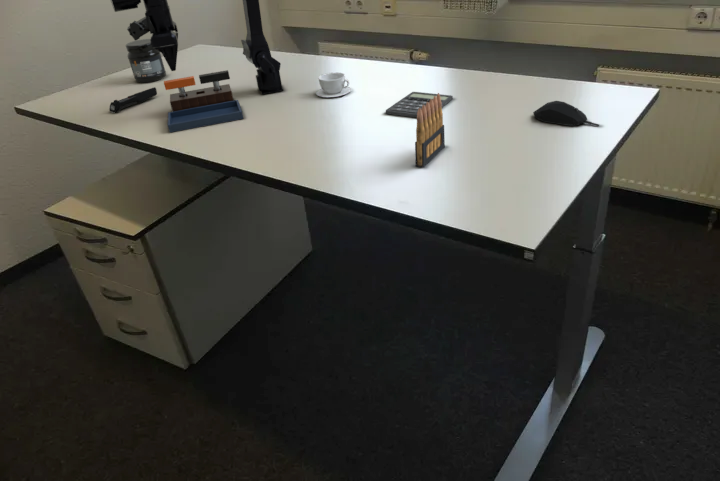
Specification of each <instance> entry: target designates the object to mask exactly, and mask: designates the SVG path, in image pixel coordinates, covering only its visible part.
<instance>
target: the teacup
mask: <svg viewBox="0 0 720 481" xmlns="http://www.w3.org/2000/svg"><path fill="white" fill-rule="evenodd" d="M318 82H319V87H320V88H319V89H318V90H316V92H315V95H317V96H319V97H320V98H321V97H322V98H335V97H341V96H345V95H347V94H348V93H351V91H352V88H351V87H350V80H348V79H347V78H346V75H345V73H343V72H327V73H324V74H321V75H319V76H318ZM345 82H346V83H345ZM345 84H346V85H345Z"/></svg>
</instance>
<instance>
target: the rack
mask: <svg viewBox="0 0 720 481" xmlns="http://www.w3.org/2000/svg"><path fill="white" fill-rule="evenodd" d="M219 86H220V90H219V91H215V90H214V86H210V87H209V86H208V87H203V88H199V89H192V90H185V92H186V96H185V97H180V93H179V92H176V93H170V94H169V103H170V107H171V110H172V111H171V112H173V111H179V110H184V109H190V108H195V107H201V106H206V105H212V104H217V103H223V102H228V101H234V96H233V92H232V88H231V85H230V83H226V84H221V85H219Z"/></svg>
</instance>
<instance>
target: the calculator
mask: <svg viewBox="0 0 720 481" xmlns="http://www.w3.org/2000/svg"><path fill="white" fill-rule="evenodd" d="M437 94H438V93H431V92H429V93H428V92H421V91H412V92H410V93H409V94H407V95H405V96H404V97H402V98H401V99H400V100H398V101H397V102H395V103H394V104H392V105H391V106H390V107H388V108H387V109H385V114H386V115H393V116H394V115H395V116H402V117H408V118H409V117H411V118H417V113H418V109H419V108H420V109H421V110H422V106H423V105H425V106H426V103H427V102H428V103H429V102H430V99H432V100H433V98H434V96H436V97H437ZM439 94H440V93H439ZM440 97H441V105H442V108H443V107H445V106H446V105H447V104H448V103H449V102H451V101H452V100H453V98H454V96H453V95H451V94H440Z"/></svg>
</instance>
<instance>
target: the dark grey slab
mask: <svg viewBox="0 0 720 481" xmlns="http://www.w3.org/2000/svg"><path fill="white" fill-rule="evenodd" d="M198 78H199V82H200V85H204V84H209V83H212V87H214V90H215V91H219V90H220V86H221V85H220V82H223V81H226V80H230V79H231V77H230V73H229V70H228V69H227V70H220V71H215V72H209V73H204V74H203V73H202V74H198Z"/></svg>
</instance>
